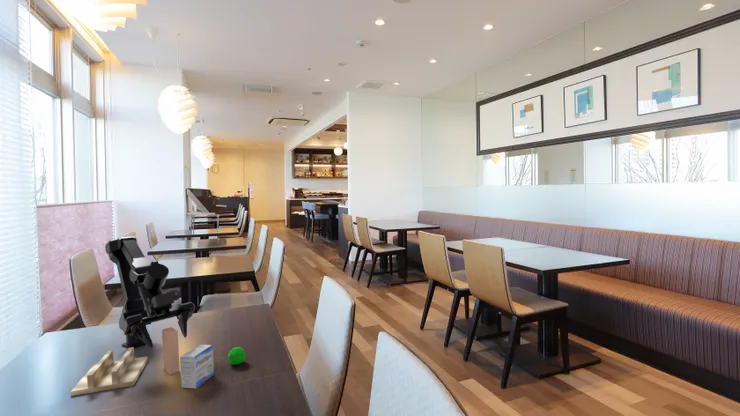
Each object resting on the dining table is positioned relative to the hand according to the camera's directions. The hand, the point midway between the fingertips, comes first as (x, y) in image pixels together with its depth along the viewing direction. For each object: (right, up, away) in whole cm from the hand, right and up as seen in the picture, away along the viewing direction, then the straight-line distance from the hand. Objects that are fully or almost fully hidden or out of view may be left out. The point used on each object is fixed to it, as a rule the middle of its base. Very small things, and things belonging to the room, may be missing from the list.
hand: (169, 341), depth 107 cm
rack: (-15, -9, -3) cm, 17 cm away
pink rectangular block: (+1, -8, 0) cm, 8 cm away
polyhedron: (+18, -8, +3) cm, 20 cm away
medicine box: (+11, -9, -7) cm, 16 cm away
